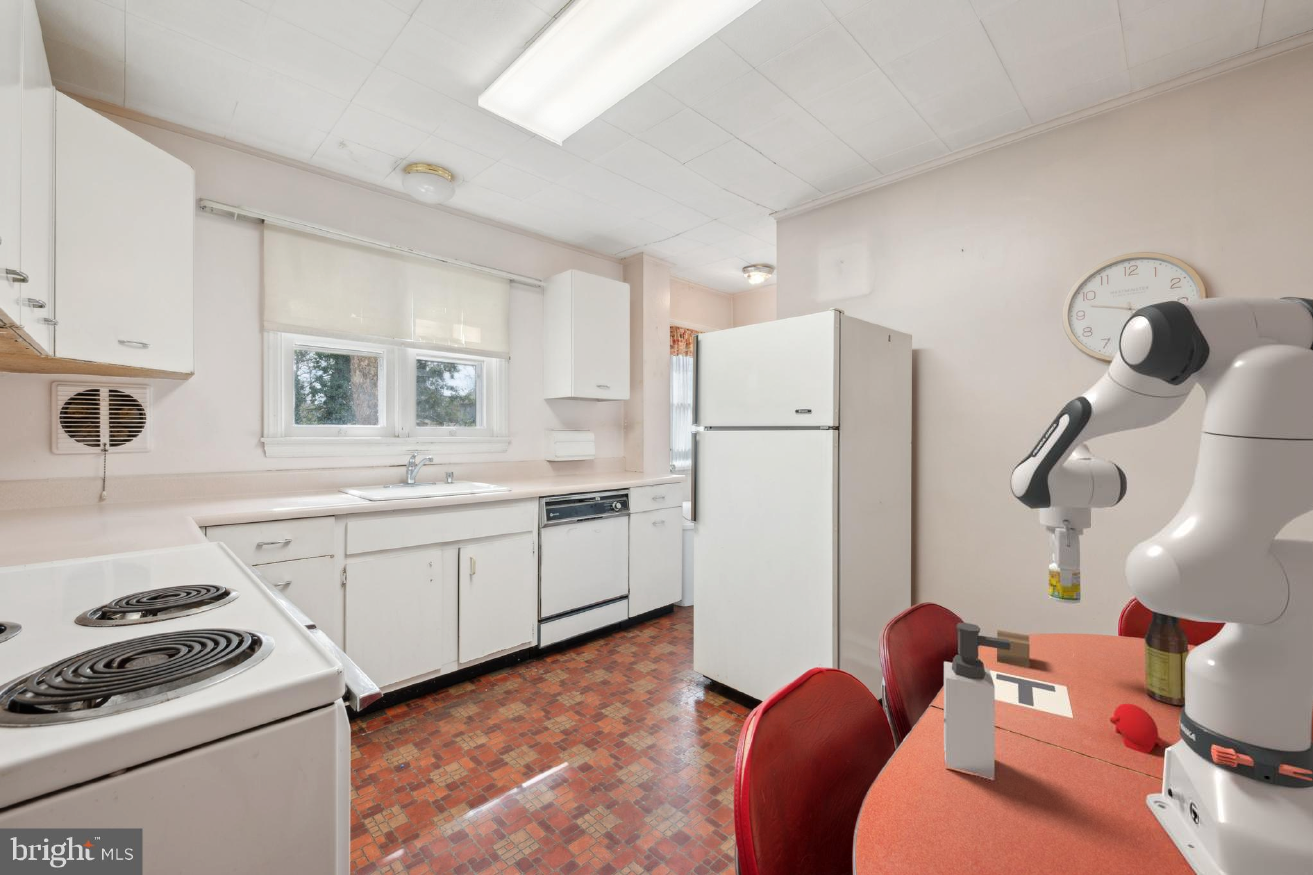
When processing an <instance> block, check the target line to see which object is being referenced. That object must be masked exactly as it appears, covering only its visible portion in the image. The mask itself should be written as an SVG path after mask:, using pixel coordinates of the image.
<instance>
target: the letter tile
mask: <svg viewBox="0 0 1313 875" xmlns="http://www.w3.org/2000/svg"><path fill="white" fill-rule="evenodd" d="M989 670H990V673H991V676H992V680H993V683H994V686H995V701H998V702H1002V703H1007V704H1011V705H1015V706H1020V707H1024V708H1028V709H1032V710H1036V711H1041V712H1044V713H1045V712H1046V713H1050V714H1054V715H1057V716H1061V717H1066V718H1070V719H1074V716H1073V711H1072V707H1071V701H1070V698H1069V692H1068V687H1067V686H1065V685H1061V684H1056V683H1051V682H1045V681H1042V680H1038V679H1033V678H1027V677H1024V676H1018V675H1013V674H1009V673H1005V672H999V671H995V670H991V669H989Z"/></svg>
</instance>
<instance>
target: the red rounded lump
mask: <svg viewBox="0 0 1313 875" xmlns="http://www.w3.org/2000/svg"><path fill="white" fill-rule="evenodd" d="M1109 721H1110V723H1111V724H1113V725H1114V726H1115V731H1114V732H1115V734H1121V735H1122V742H1123V744H1124V746H1125V747H1126V748H1128V749H1131V750H1133V751H1135V752H1140V753H1143V754H1149V753H1151V751H1152V750H1153V749H1154V747H1155V746H1162V745H1163V744H1164V740H1163V739H1162V738H1161V736H1160V734H1159V731H1158V727H1157V724H1156V722H1155V720H1154V719H1153V718H1152V716H1151V715H1150V714H1149V713H1148V712H1147V711H1146V710H1145V709H1144V708H1142V707H1140V706H1139V705H1135V704H1133V703H1123V704H1119V705H1118V706H1117V707H1116V708H1115V709H1114V712H1113V716H1112V717H1110V718H1109Z"/></svg>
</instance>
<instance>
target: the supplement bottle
mask: <svg viewBox="0 0 1313 875" xmlns="http://www.w3.org/2000/svg"><path fill="white" fill-rule="evenodd" d="M1051 558H1052V562H1053V563H1051V564H1049V565H1048V598H1050V600H1052V601H1055V602H1058V603H1063V604H1069V605H1070V604H1071V605H1073V604H1079V603H1080V602H1081V570H1080V568H1079V570H1073V574H1072V585H1071V586H1070V587H1068V586H1062V585H1061V583H1060V568H1058V567H1057V564H1056V561H1055V558H1054V554H1053V553H1052V557H1051Z"/></svg>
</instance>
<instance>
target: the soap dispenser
mask: <svg viewBox="0 0 1313 875" xmlns="http://www.w3.org/2000/svg"><path fill="white" fill-rule="evenodd" d="M956 629H957V653H958V654H956V655H955V656H954V657H953V658H952V662H950V661H943V750H944V751H945V755H944V763H946V766H948V767H953V768H955V769H960V770H964V771H967V772H971V773H973V774H978V775H979V776H985V777H987V778H992V779H994V780H995V736H996V732H995V731H996V730H995V729H996V728H995V727H996V726H995V715H996V714H995V713H996V712H995V711H996V710H995V707H996V706H995V703H996V702H995V701H996V700H995V686H994V683H993V680H992V676H991V673H990V670H991V669H990V668H986V667H985V665H984V662H983V661H982V660H981V659H980V658H979V657H980V656H979V655H980V654H979V646H981V647H987V648H993V649H997V648H999V649H1005V650H1010V641H1009V639H1001V638H997V637H991V636H986V635H979V634H980V633H981V628H980V627H979V625H977V624H973V623H969V622H968V623H967V622H958V623H957V624H956ZM944 751H943V752H944ZM946 766H945V767H946Z"/></svg>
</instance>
